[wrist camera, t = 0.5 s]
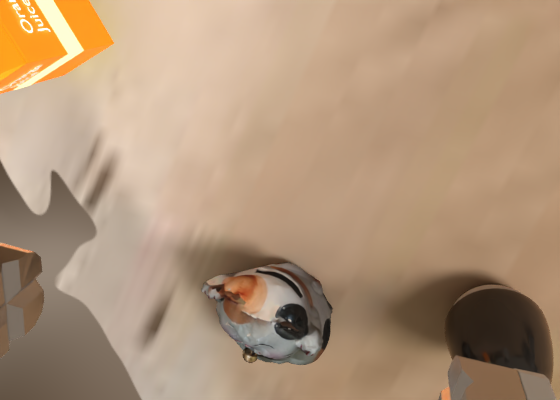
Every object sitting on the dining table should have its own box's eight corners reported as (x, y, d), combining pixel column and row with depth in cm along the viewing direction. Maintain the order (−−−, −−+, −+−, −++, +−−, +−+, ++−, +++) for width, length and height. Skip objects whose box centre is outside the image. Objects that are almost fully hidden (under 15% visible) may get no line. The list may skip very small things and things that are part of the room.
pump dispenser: (459, 257, 57) (479, 347, 43) (555, 287, 56) (605, 388, 42) (426, 329, 61) (434, 431, 47) (514, 358, 60) (549, 470, 46)
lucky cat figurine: (203, 310, 66) (159, 348, 52) (249, 229, 64) (217, 247, 50) (305, 375, 64) (287, 432, 50) (355, 294, 62) (351, 330, 49)
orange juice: (68, -37, 53) (-102, -44, 35) (115, 43, 55) (-21, 75, 37) (16, 1, 56) (-166, 13, 38) (63, 76, 58) (-88, 121, 40)
